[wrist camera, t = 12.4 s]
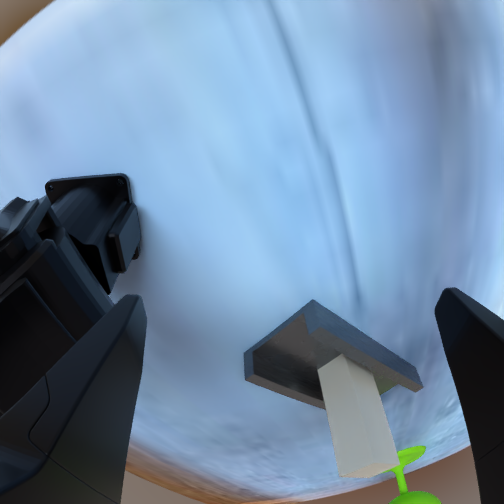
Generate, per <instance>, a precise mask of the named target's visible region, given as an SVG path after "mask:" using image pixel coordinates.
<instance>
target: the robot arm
mask: <svg viewBox="0 0 504 504" xmlns="http://www.w3.org/2000/svg"><path fill="white" fill-rule="evenodd" d="M118 179H121V180H123V182H124V183H123V184H120V183H119V181H118ZM50 185H52V186H53V189H52V188H51V187H50ZM45 190H46V196H44V197H42V198H40V199H38V198H37V199H35V200H33V201H31V202H30V201H26V200H23V199H21V198H19V197H17V198H15V199H13V200H12V201H10V202H9V203H8V204H7V205H6V206H5V207H4V208H3V209H2V210H1V211H0V504H120V502H121V495H122V487H123V479H124V472H125V465H126V458H127V452H128V445H129V439H130V433H131V428H132V422H133V416H134V411H135V406H136V400H137V395H138V390H139V385H140V380H141V375H142V367H143V356H144V346H145V336H146V327H147V317H146V313H145V309H144V305H143V301H142V298H141V296H139V295H125V296H124V297H123V298H122V299H121V300H120V301H119V302H118V303H117V304H115V305H114V303H113V302H112V300H111V299H110V298H109V296H108V295H109V294H110V293H111V291H112V289H113V286H114V284H115V281H116V279H117V277H118V274H119V273H125V272H126V270H127V269H128V266H129V264H130V261H131V260H134V259H137V258H138V257H139V254H140V247H139V240H140V238H141V233H140V227H139V221H138V215H137V208H136V205H135V204H134V203H132V199H131V192H130V185H129V179H128V177H127V176H126V175H125V174H123V173H117V174H104V175H92V176H81V177H71V178H61V179H52V180H50V181H48V182H47V183H46V185H45ZM134 252H135V254H134ZM435 317H436V321H437V324H438V328H439V332H440V335H441V339H442V343H443V347H444V351H445V355H446V358H447V361H448V364H449V367H450V370H451V373H452V377H453V380H454V383H455V386H456V390H457V393H458V396H459V400H460V403H461V407H462V411H463V415H464V418H465V422H466V426H467V430H468V434H469V439H470V443H471V448H472V452H473V457H474V462H475V469H476V474H477V480H478V486H479V492H480V500H481V504H504V320H503V319H501V318H500V317H499V316H497V315H496V314H494V313H493V312H491V311H490V310H489V309H487V308H486V307H484V306H483V305H481V304H480V303H478V302H477V301H475V300H474V299H472V298H471V297H469V296H468V295H466V294H465V293H463V292H462V291H460V290H459V289H457V288H455V287H452V288H445V289H444V290H443V292H442V294H441V296H440V298H439V300H438V302H437V304H436V306H435Z"/></svg>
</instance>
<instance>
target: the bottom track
mask: <svg viewBox="0 0 504 504" xmlns="http://www.w3.org/2000/svg"><path fill="white" fill-rule="evenodd" d="M341 354H344V355H345V356H347V357H349V358H351V359H353V360H355V361H356V362H358V363H360V364H362V365H364V366H366V367H368V368H369V369H371V371H372V374H373V377H374V380H375V383H376V386H377V389H378V392H379V395H381V394H383V393H384V392H386V391H388V390H389V389H391V388H392V387H394V386H396V385H397V384H400V385H402V386H404V387H406V388H408V389H410V390H412V391H414V392H417V391H419V390H420V389H422V388H423V384H422V382H421V380H420V377H419V375H418V373H417V370H416V368H415V367H414V366H412V365H411V364H409V363H408V362H406V361H405V360H403V359H402V358H400V357H399V356H397V355H396V354H394V353H393V352H391V351H390V350H388V349H387V348H385V347H384V346H382V345H381V344H379V343H378V342H376V341H375V340H373V339H372V338H370V337H369V336H367V335H366V334H364V333H363V332H361V331H360V330H358V329H357V328H355V327H354V326H352V325H351V324H349V323H348V322H346V321H345V320H343V319H342V318H340V317H339V316H337V315H336V314H334V313H333V312H331V311H330V310H328V309H327V308H325V307H324V306H322V305H321V304H319V303H318V302H316V301H315V300H311V301H310V302H309V303H308V304H306V305H305V306H304V307H303V308H301V309H300V310H299V311H298V312H297V313H295V314H294V315H293V316H292V317H290V318H289V319H288V320H286V321H285V322H284V323H283V324H281V325H280V326H279V327H278V328H276V329H275V330H274V331H272V332H271V333H270V334H269V335H267V336H266V337H265V338H263V339H262V340H261V341H259V342H258V343H257V344H255V345H254V346H253V347H252V348H250V349H249V350H248V351H246V352H245V353H244V372H245V380H246V381H249V382H251V383H254V384H256V385H259V386H261V387H264V388H266V389H269V390H271V391H274V392H277V393H279V394H282V395H285V396H287V397H290V398H293V399H296V400H298V401H301V402H304V403H307V404H310V405H313V406H316V407H319V408H322V409H325V410H326V407H325V402H324V398H323V393H322V388H321V384H320V379H319V375H318V369H320V368H321V367H323V366H324V365H326V364H327V363H329V362H330V361H332V360H333V359H335V358H336V357H338V356H339V355H341Z"/></svg>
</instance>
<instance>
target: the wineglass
mask: <svg viewBox="0 0 504 504" xmlns="http://www.w3.org/2000/svg"><path fill="white" fill-rule="evenodd" d="M425 449H426V447H425V446H416V447H411V448H407V449H404V450H401V451H398V452H397V455H398V458H399V462H400V465H398V466H396V467H393V468H391V469H389V470H387V471H384V472H382V473H385V472H389V471H392V472H394V473H395V474H396V478H397V482H398V486H399V490H400V494H401V495H400V496H398V497H396V498H395V499H394V500H392V501H391V502H390V503H389V504H442V503H441V501H440V500H439V499H438V498H437V497H436V496H434V495H432V494H430V493H427V492H422V491H416V492H415V491H414V492H409V493H408V490H407V486H406V482H405V478H404V474H403V469H404V466H405V465H407V464H409V463H411V462H413V461H415V460H417V459H418V458H419V457H421V456H422V455H423V454H424V452H425Z"/></svg>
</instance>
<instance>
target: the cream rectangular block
mask: <svg viewBox="0 0 504 504" xmlns="http://www.w3.org/2000/svg"><path fill="white" fill-rule="evenodd" d="M318 375H319V379H320V384H321V388H322V393H323V398H324V402H325V407H326V412H327V417H328V422H329V427H330V432H331V437H332V442H333V447H334V452H335V457H336V462H337V467H338V473H339V477H351V478H370V477H373V476H375V475H377V474H380V473H382V472H384V471H387V470H389V469H391V468H393V467H396V466H398V465H400V462H399V458H398V455H397V451H396V448H395V444H394V441H393V437H392V434H391V431H390V427H389V424H388V421H387V417H386V414H385V411H384V408H383V405H382V402H381V398H380V395H379V392H378V389H377V386H376V383H375V380H374V377H373V374H372V371H371V369H369V368H368V367H366V366H364V365H362V364H360V363H358V362H356V361H355V360H353V359H351V358H349V357H347V356H345V355H344V354H341V355H339V356H338V357H336V358H335V359H333V360H332V361H330V362H329V363H327V364H326V365H324V366H323V367H321V368H320V369H318Z"/></svg>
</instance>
